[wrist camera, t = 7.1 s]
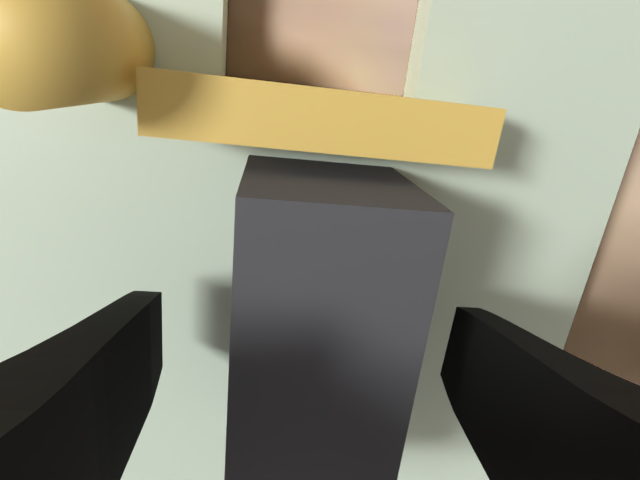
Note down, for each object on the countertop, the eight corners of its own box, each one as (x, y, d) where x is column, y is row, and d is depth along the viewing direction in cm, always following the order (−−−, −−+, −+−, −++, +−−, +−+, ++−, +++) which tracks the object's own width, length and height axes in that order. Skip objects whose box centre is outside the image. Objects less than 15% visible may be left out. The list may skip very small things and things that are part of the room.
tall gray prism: (350, 423, 13) (380, 555, 10) (236, 422, 13) (221, 560, 9) (391, 167, 11) (454, 213, 7) (248, 154, 10) (235, 197, 7)
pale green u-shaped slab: (477, 536, 17) (542, 682, 13) (49, 547, 15) (-36, 725, 11) (664, -38, 11) (916, -114, 7) (-50, -161, 9) (-361, -391, 4)
